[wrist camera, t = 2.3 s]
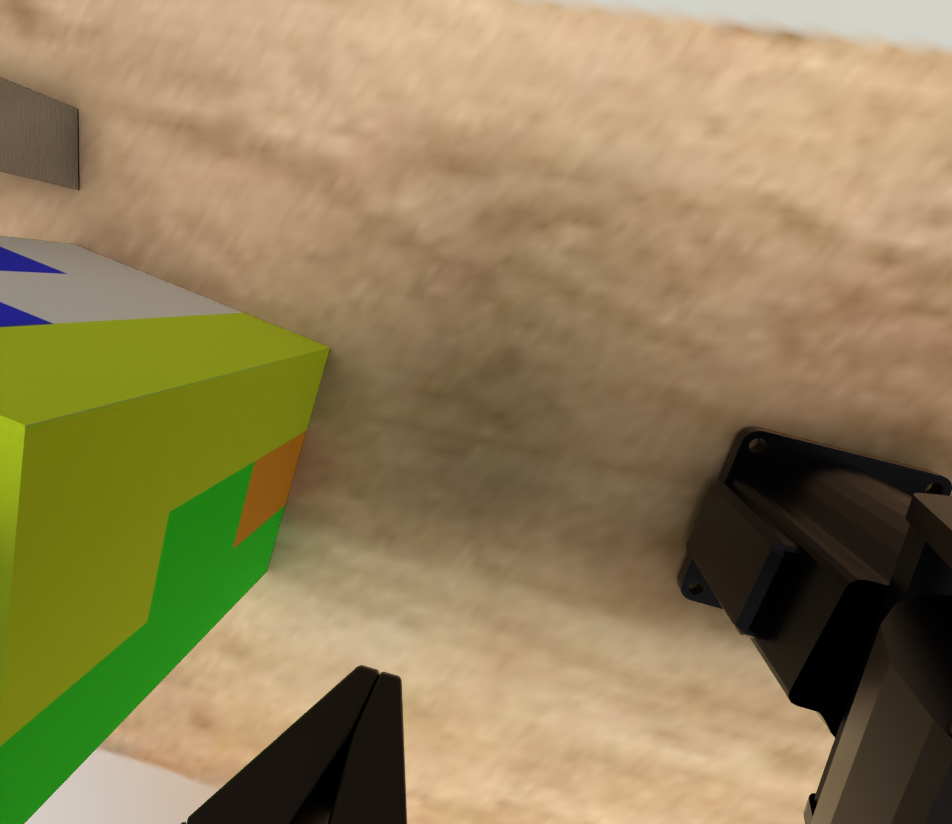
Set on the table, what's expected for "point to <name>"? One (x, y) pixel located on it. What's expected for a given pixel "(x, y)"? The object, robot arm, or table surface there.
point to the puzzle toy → (125, 490)
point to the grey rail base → (37, 136)
